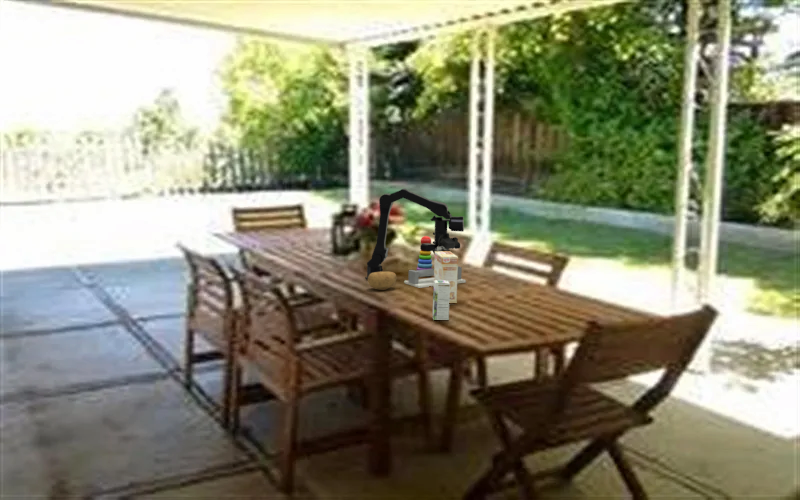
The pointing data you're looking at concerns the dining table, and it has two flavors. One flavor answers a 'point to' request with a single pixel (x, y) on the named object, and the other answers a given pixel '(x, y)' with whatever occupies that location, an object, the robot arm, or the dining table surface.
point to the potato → (381, 280)
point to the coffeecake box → (447, 271)
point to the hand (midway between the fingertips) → (440, 264)
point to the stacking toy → (425, 256)
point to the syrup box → (441, 300)
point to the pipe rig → (427, 282)
